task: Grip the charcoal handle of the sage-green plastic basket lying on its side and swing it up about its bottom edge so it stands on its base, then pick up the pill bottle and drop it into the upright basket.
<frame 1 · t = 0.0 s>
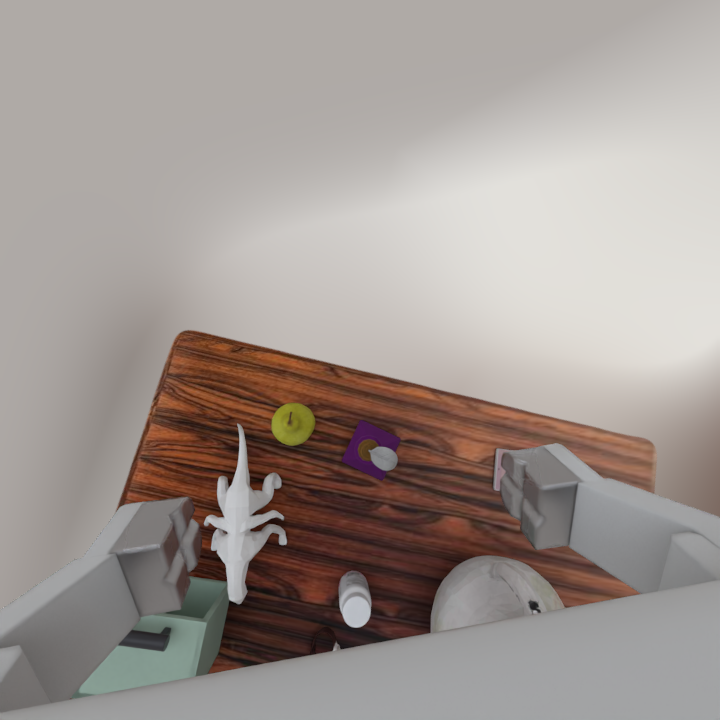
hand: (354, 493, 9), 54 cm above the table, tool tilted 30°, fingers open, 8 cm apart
watch: (325, 650, 57), on the table
perfume bottle: (369, 448, 63), on the table
ceramic pitcher: (471, 593, 60), on the table
fruit: (295, 424, 63), on the table
smartphone: (534, 474, 64), on the table
basket: (158, 638, 49), point 8 cm above the table, hinge at 0.0°
white toy dinosaur: (250, 499, 60), on the table
pill bottle: (353, 585, 59), on the table
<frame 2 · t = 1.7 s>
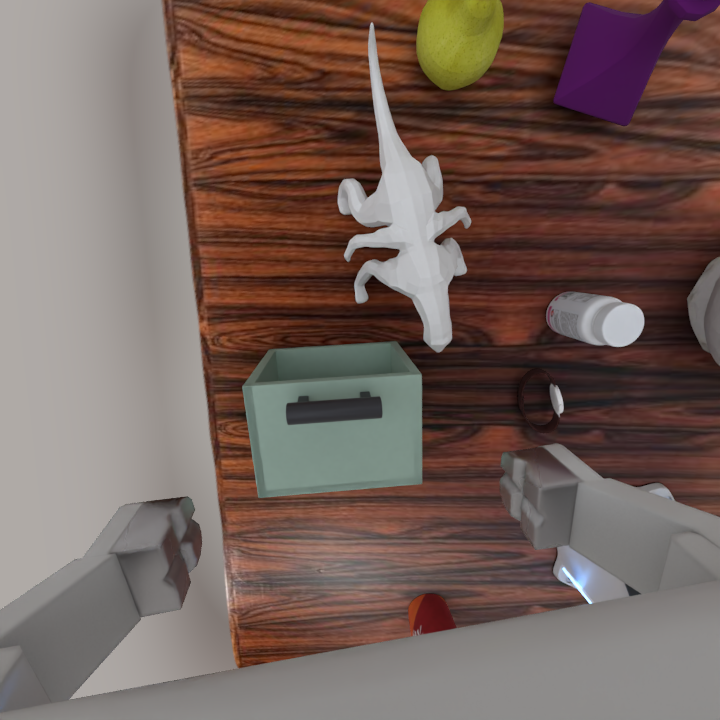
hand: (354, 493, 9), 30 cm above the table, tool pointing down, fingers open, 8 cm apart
watch: (532, 396, 43), on the table
perfume bottle: (581, 85, 35), on the table
fruit: (444, 62, 33), on the table
basket: (337, 415, 34), point 8 cm above the table, hinge at 0.0°
paper cup: (427, 607, 51), on the table
white toy dinosaur: (394, 219, 37), on the table
pill bottle: (564, 312, 41), on the table
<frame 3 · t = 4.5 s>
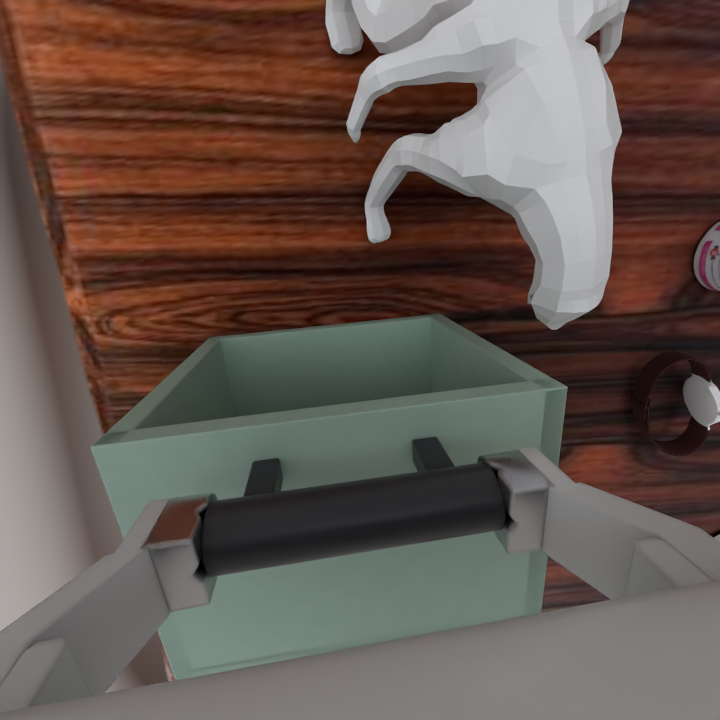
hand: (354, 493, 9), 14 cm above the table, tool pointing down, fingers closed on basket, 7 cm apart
watch: (653, 395, 27), on the table
basket: (345, 469, 16), point 8 cm above the table, hinge at 0.0°, touching gripper
white toy dinosaur: (438, 71, 19), on the table
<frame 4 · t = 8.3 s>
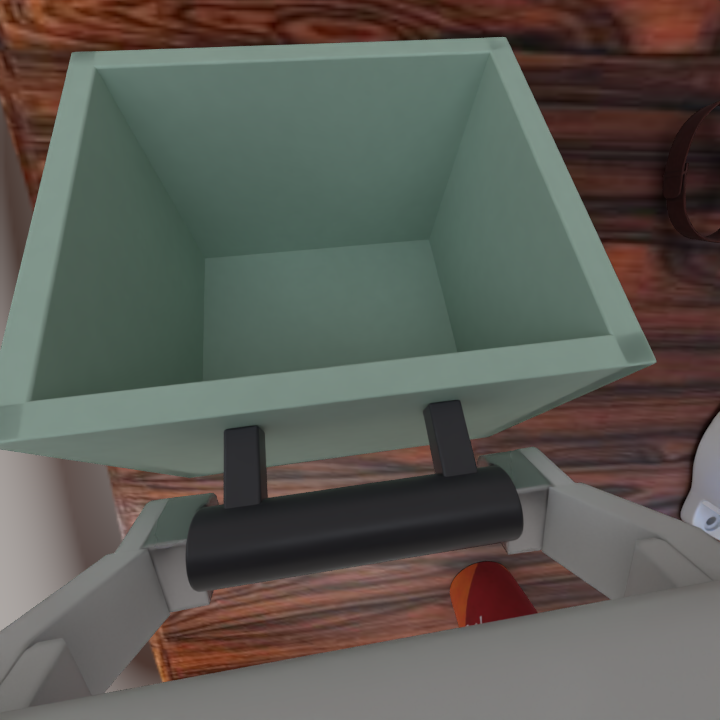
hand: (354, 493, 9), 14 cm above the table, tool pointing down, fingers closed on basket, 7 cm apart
watch: (688, 179, 23), on the table
basket: (330, 322, 14), point 9 cm above the table, hinge at 50.5°, touching gripper
paper cup: (479, 584, 31), on the table
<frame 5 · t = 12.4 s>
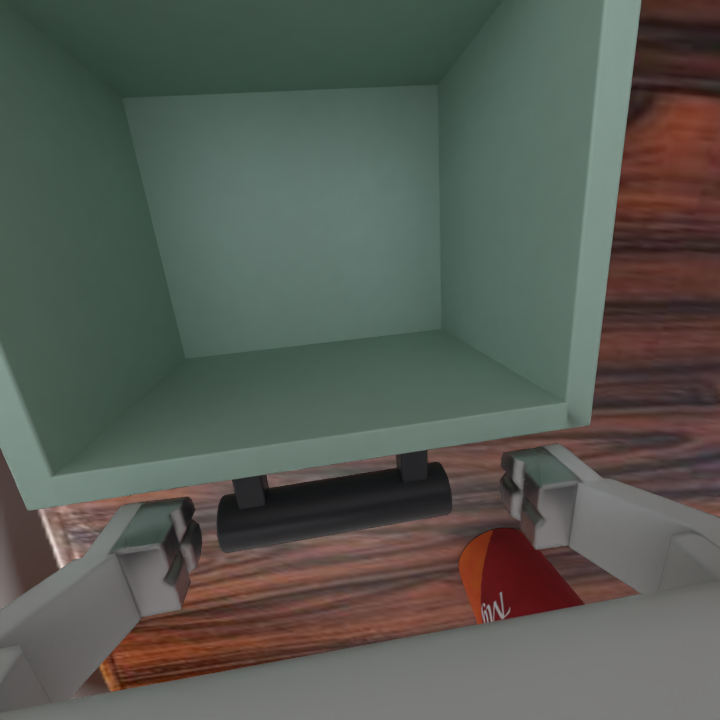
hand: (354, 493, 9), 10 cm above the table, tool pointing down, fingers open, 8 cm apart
basket: (309, 272, 12), point 5 cm above the table, hinge at 87.8°
paper cup: (494, 556, 26), on the table
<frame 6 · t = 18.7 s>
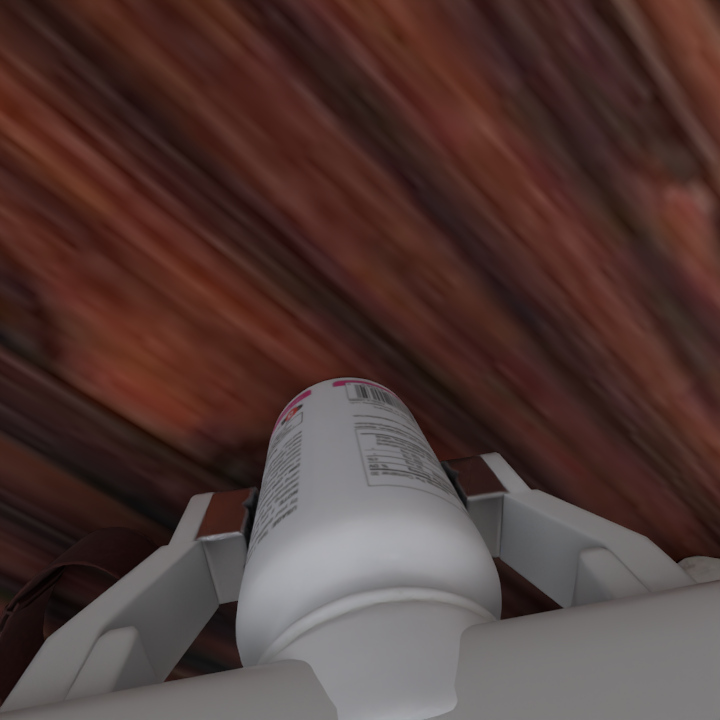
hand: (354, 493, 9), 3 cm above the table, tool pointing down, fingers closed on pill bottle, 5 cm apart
watch: (110, 591, 13), on the table
ceramic pitcher: (671, 628, 18), on the table
pill bottle: (344, 437, 12), on the table, touching gripper
when the fingers open (12 cm above the table, at t = 26.1 s): pill bottle drops 8 cm, resting on basket.
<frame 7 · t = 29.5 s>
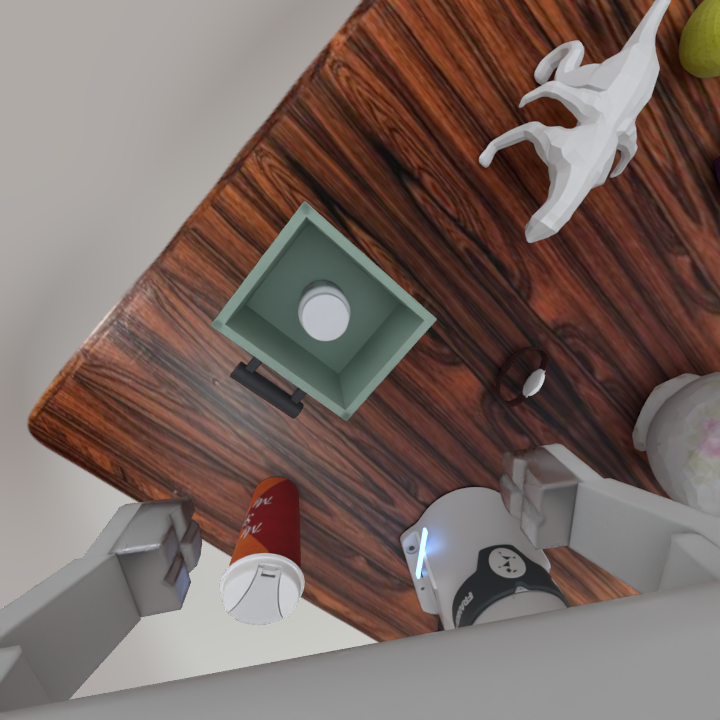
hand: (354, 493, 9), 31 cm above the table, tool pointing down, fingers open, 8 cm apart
watch: (514, 371, 44), on the table
ceramic pitcher: (678, 405, 49), on the table
fruit: (687, 49, 35), on the table
basket: (315, 324, 34), point 5 cm above the table, hinge at 90.0°, touching pill bottle
paper cup: (276, 494, 46), on the table
white toy dinosaur: (557, 127, 36), on the table
pill bottle: (322, 302, 38), point 1 cm above the table, touching basket
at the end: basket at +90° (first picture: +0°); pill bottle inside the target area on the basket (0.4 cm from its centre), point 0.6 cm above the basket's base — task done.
